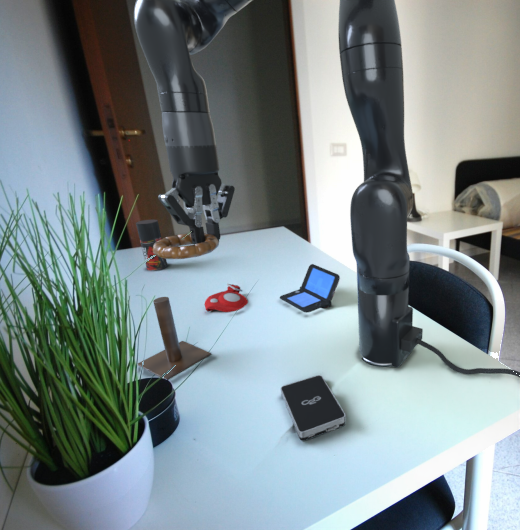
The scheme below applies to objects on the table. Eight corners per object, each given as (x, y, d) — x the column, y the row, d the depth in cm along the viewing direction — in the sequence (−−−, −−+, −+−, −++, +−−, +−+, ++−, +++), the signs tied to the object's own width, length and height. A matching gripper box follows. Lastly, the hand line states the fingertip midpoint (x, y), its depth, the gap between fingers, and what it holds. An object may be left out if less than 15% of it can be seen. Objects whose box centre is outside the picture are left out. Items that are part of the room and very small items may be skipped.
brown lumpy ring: (231, 247, 64) (229, 236, 64) (178, 264, 56) (175, 252, 56) (195, 239, 69) (193, 229, 69) (141, 254, 61) (139, 242, 61)
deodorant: (171, 264, 121) (161, 219, 116) (160, 270, 116) (149, 224, 111) (154, 263, 122) (144, 219, 117) (142, 270, 116) (131, 224, 111)
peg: (212, 358, 70) (200, 295, 66) (167, 385, 63) (150, 316, 58) (183, 345, 74) (170, 285, 70) (138, 369, 67) (120, 304, 63)
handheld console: (278, 300, 93) (274, 273, 91) (313, 288, 100) (311, 262, 98) (306, 317, 85) (303, 287, 82) (342, 302, 92) (341, 274, 89)
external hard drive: (300, 445, 50) (299, 433, 50) (280, 396, 60) (279, 386, 59) (347, 427, 53) (346, 416, 52) (321, 383, 62) (320, 373, 62)
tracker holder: (254, 305, 89) (210, 307, 83) (251, 320, 90) (207, 323, 84) (241, 279, 97) (200, 278, 91) (238, 293, 99) (198, 293, 93)
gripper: (163, 145, 53) (184, 259, 59) (240, 142, 64) (252, 238, 70) (134, 144, 56) (157, 251, 62) (212, 141, 67) (225, 233, 73)
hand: (207, 244), depth 66 cm, fingers closed on brown lumpy ring, 2 cm apart
